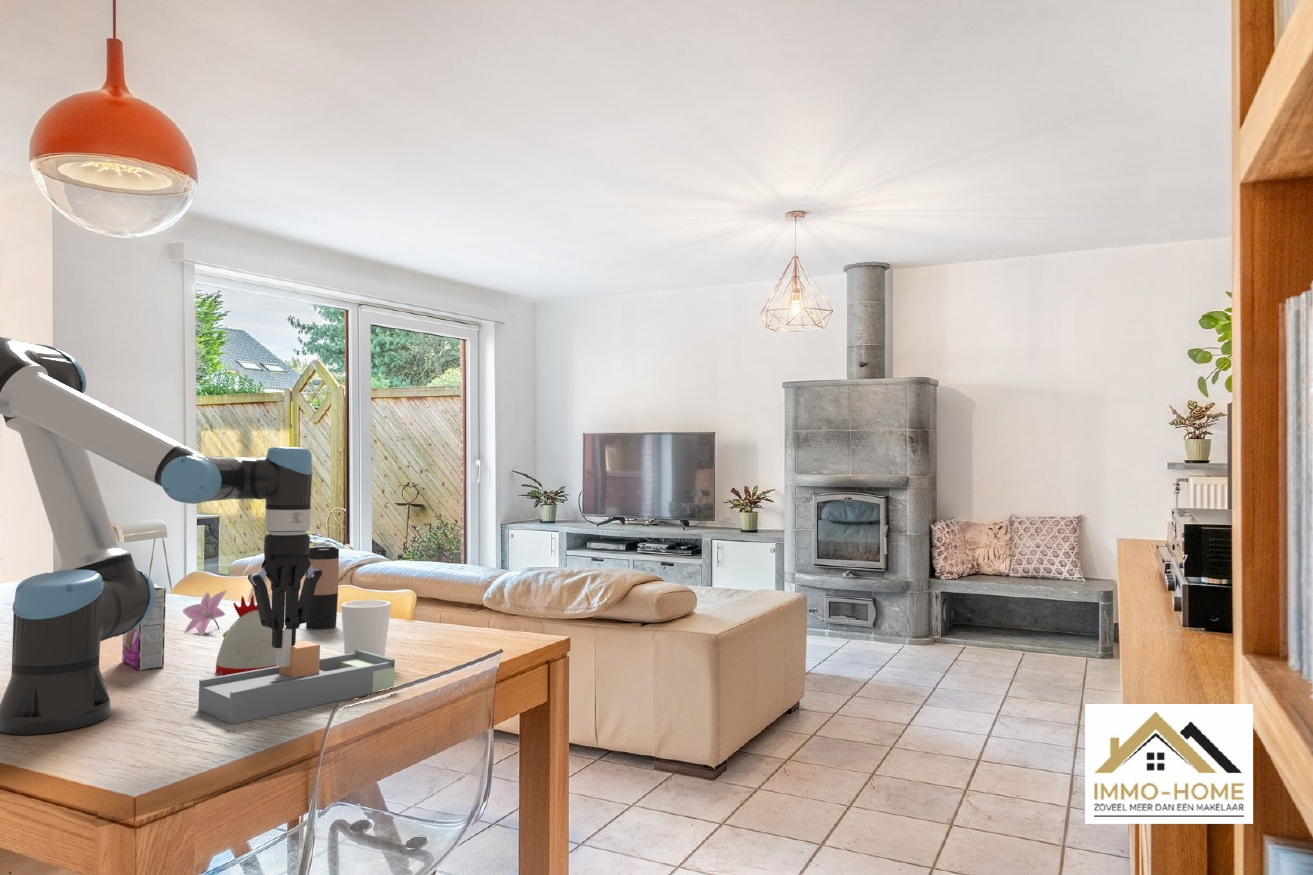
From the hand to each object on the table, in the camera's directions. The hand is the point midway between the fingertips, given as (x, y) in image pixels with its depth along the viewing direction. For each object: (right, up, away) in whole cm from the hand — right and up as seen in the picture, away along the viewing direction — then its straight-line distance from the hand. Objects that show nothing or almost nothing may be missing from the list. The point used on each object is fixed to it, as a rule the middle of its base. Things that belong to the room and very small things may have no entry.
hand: (283, 665), depth 154 cm
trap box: (+3, -6, 0) cm, 7 cm away
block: (+2, -2, +3) cm, 4 cm away
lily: (-44, -7, +58) cm, 73 cm away
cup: (+6, -7, +26) cm, 28 cm away
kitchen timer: (-15, -7, +22) cm, 27 cm away
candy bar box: (-39, -6, +23) cm, 45 cm away
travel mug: (-19, -8, +66) cm, 69 cm away
